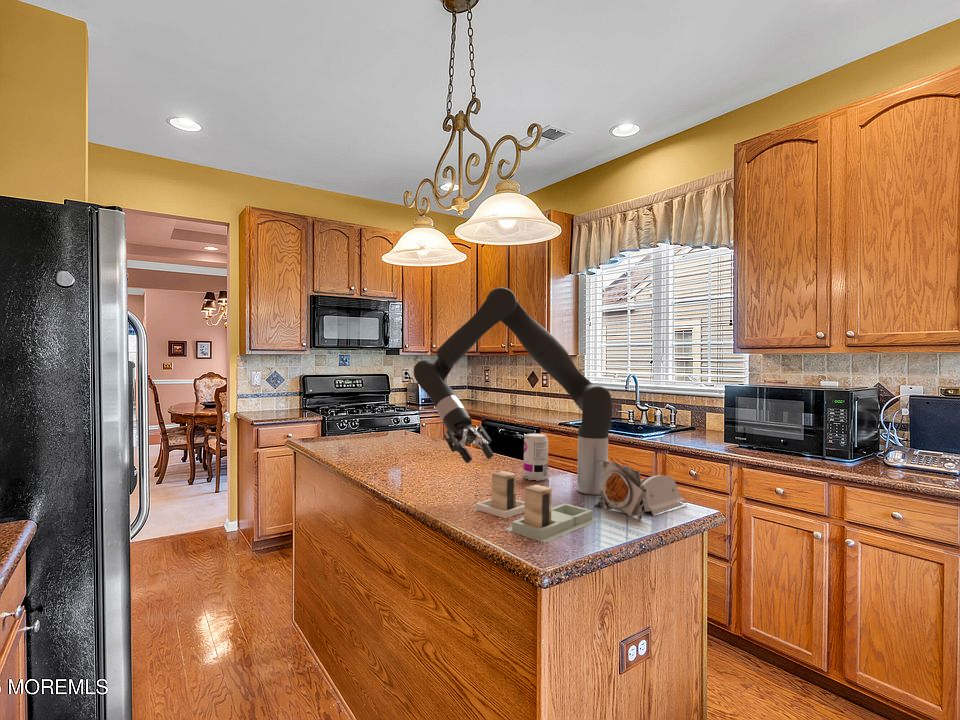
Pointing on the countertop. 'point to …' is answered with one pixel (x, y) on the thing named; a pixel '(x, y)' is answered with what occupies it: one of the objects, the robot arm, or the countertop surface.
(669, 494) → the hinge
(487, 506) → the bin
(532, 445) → the supplement can
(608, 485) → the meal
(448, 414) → the robot arm
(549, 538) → the green slotted tray
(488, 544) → the countertop surface
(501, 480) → the block
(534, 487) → the block
